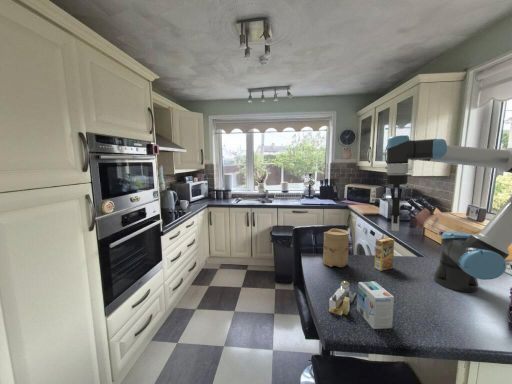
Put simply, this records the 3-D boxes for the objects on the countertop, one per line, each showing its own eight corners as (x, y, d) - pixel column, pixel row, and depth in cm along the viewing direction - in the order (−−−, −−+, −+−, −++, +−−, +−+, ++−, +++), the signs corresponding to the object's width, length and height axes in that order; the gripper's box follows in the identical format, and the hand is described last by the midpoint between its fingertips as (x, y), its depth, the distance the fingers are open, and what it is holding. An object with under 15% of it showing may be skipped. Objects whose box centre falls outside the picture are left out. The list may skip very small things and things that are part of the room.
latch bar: (342, 290, 95) (342, 279, 94) (350, 292, 93) (350, 281, 92) (327, 306, 84) (328, 294, 83) (336, 310, 81) (337, 297, 81)
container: (320, 265, 122) (320, 232, 120) (327, 257, 132) (327, 227, 130) (344, 271, 115) (346, 236, 113) (350, 262, 125) (351, 230, 123)
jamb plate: (355, 294, 93) (355, 292, 93) (351, 303, 88) (351, 300, 88) (338, 289, 97) (338, 287, 97) (333, 297, 92) (333, 295, 92)
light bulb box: (356, 309, 84) (357, 281, 83) (373, 308, 85) (375, 280, 83) (373, 329, 73) (375, 298, 72) (393, 328, 74) (395, 297, 73)
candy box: (381, 271, 115) (382, 241, 113) (373, 267, 119) (375, 239, 117) (393, 268, 118) (395, 239, 116) (385, 265, 122) (387, 237, 120)
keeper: (352, 304, 87) (352, 291, 87) (346, 317, 79) (346, 304, 79) (336, 299, 90) (336, 287, 90) (328, 311, 83) (329, 298, 82)
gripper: (387, 174, 102) (385, 226, 104) (385, 175, 91) (384, 233, 93) (407, 173, 98) (405, 227, 100) (408, 174, 87) (406, 235, 89)
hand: (395, 230), depth 97 cm, fingers closed
